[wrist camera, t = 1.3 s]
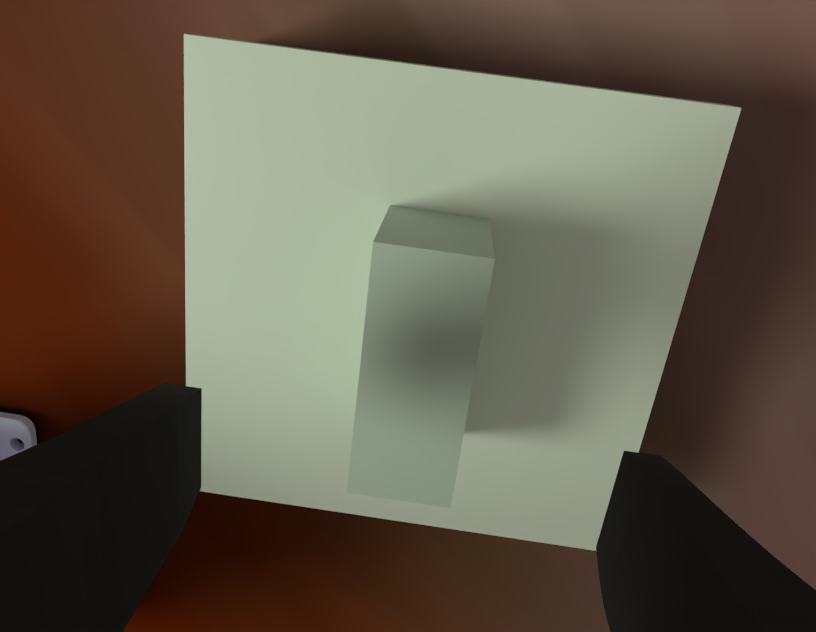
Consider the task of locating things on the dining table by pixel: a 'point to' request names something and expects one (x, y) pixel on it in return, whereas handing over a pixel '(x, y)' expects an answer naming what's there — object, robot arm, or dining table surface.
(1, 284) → the dining table surface
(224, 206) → the lid
